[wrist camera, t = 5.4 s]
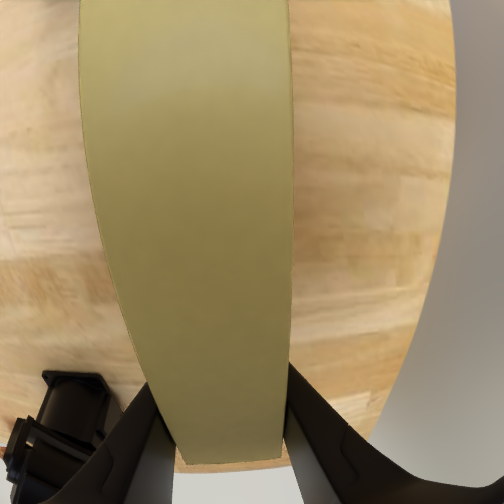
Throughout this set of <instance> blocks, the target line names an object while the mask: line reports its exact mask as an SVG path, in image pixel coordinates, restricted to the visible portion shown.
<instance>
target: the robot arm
mask: <svg viewBox="0 0 504 504" xmlns="http://www.w3.org/2000/svg"><path fill="white" fill-rule="evenodd" d="M42 377H43V379H44V381H45V382H46V384H47V385H48V387H49V388H48V390H47V393H46V395H45V398H44V400H43V403H42V405H41V408H40V410H39V413H38V415H37V418H36V420H34V418H32V417H31V416H29V415H28V417H27V419H22V418H17V420H16V423H15V425H14V428H13V430H12V433H11V436H10V438H9V441H8V444H7V447H6V450H5V453H4V456H3V460H4V462H5V464H6V467H7V469H6V471H7V472H8V474H7V479H6V480H8V481H9V482H11V483H13V487H12V491H11V495H10V499H11V504H172V489H173V475H174V463H175V451H176V444H175V442H174V440H173V438H172V436H171V434H170V432H169V430H168V428H167V425H166V423H165V421H164V419H163V417H162V415H161V413H160V410H159V408H158V406H157V404H156V402H155V399H154V397H153V395H152V392H151V390H150V388H149V385H148V383H147V382H146V383H145V384H144V386H143V387H142V389H141V390H140V391H139V393H138V394H137V395H136V397H135V398H134V399H133V401H132V402H131V403H130V405H129V406H128V408H127V409H126V410H125V412H124V413H122V411H121V409H120V407H119V406H118V404H117V402H116V401H115V399H114V397H113V395H112V394H111V393H110V391H109V389H108V387H107V386H106V384H105V382H104V380H103V378H102V377H101V376H100V375H98V374H94V373H71V372H56V371H43V373H42ZM283 438H284V441H285V444H286V447H287V451H288V454H289V457H290V460H291V464H292V467H293V470H294V473H295V476H296V479H297V482H298V486H299V489H300V491H301V495H302V498H303V501H304V504H504V476H503V477H501V478H500V479H498V480H497V481H496V482H494V483H493V484H491V485H489V486H485V487H479V488H473V487H465V486H457V485H450V484H444V483H438V482H433V481H428V480H424V479H421V478H418V477H416V476H414V475H412V474H410V473H409V472H407V471H406V470H404V469H403V468H401V467H400V466H399V465H397V464H396V463H394V462H393V461H391V460H390V459H389V458H387V457H386V456H385V455H383V454H382V453H381V452H379V451H378V450H376V449H375V448H374V447H373V446H372V445H370V444H369V443H368V442H367V441H366V440H365V439H364V438H363V437H361V436H360V435H359V434H358V433H357V432H356V431H355V430H354V429H353V428H352V427H351V426H350V425H349V426H348V423H347V422H346V421H345V420H344V419H343V418H342V417H341V416H340V415H339V414H338V413H337V412H336V411H335V410H334V409H333V408H332V407H331V406H330V404H329V403H328V402H327V401H326V400H325V399H324V398H323V397H322V396H321V395H320V394H319V393H318V392H317V391H316V390H315V389H314V388H313V387H312V386H311V385H310V384H309V383H308V381H307V380H306V379H305V378H304V377H303V376H302V375H301V374H300V373H299V372H298V371H297V370H296V369H295V368H294V366H293V365H292V364H291V363H290V362H289V364H288V380H287V395H286V408H285V421H284V433H283ZM26 442H29V443H30V444H32V445H33V446H30V445H28V444H27V443H26Z"/></svg>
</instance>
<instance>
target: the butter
mask: <svg viewBox="0 0 504 504" xmlns="http://www.w3.org/2000/svg"><path fill="white" fill-rule="evenodd" d="M78 68H79V93H80V107H81V119H82V129H83V139H84V147H85V154H86V162H87V168H88V175H89V181H90V187H91V192H92V198H93V203H94V208H95V213H96V218H97V223H98V227H99V232H100V236H101V240H102V245H103V249H104V253H105V257H106V261H107V264H108V268H109V272H110V275H111V279H112V283H113V286H114V289H115V293H116V296H117V299H118V303H119V306H120V309H121V312H122V315H123V318H124V321H125V324H126V327H127V330H128V333H129V336H130V339H131V341H132V344H133V347H134V350H135V352H136V355H137V358H138V360H139V363H140V365H141V368H142V371H143V373H144V376H145V378H146V380H147V383H148V385H149V388H150V390H151V392H152V395H153V397H154V399H155V402H156V404H157V406H158V408H159V410H160V413H161V415H162V417H163V419H164V421H165V423H166V425H167V428H168V430H169V432H170V434H171V436H172V438H173V440H174V442H175V444H176V446H177V448H178V450H179V451H180V453H181V455H182V457H183V459H184V461H185V463H186V464H188V465H197V464H224V463H239V462H250V461H260V460H268V459H276V458H280V457H281V456H282V445H283V433H284V421H285V408H286V395H287V380H288V364H289V347H290V327H291V304H292V276H293V234H294V125H293V86H292V59H291V38H290V21H289V5H288V0H80V10H79V33H78Z"/></svg>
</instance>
